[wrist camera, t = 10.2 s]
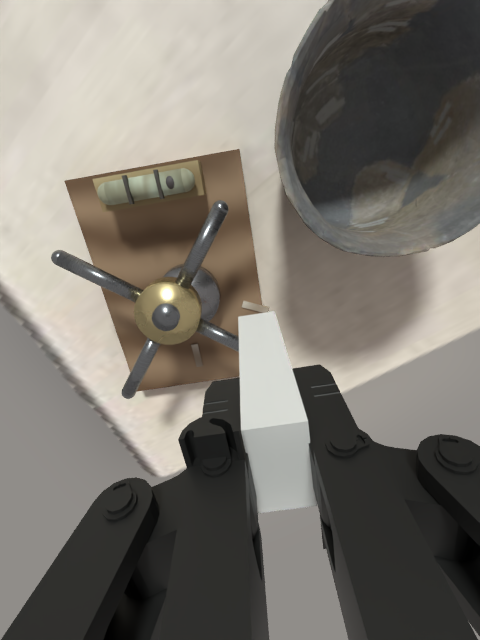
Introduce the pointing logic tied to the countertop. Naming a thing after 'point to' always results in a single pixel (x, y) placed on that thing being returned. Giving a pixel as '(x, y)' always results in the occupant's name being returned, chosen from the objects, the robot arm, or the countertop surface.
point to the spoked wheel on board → (172, 252)
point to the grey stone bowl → (384, 125)
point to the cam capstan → (167, 299)
